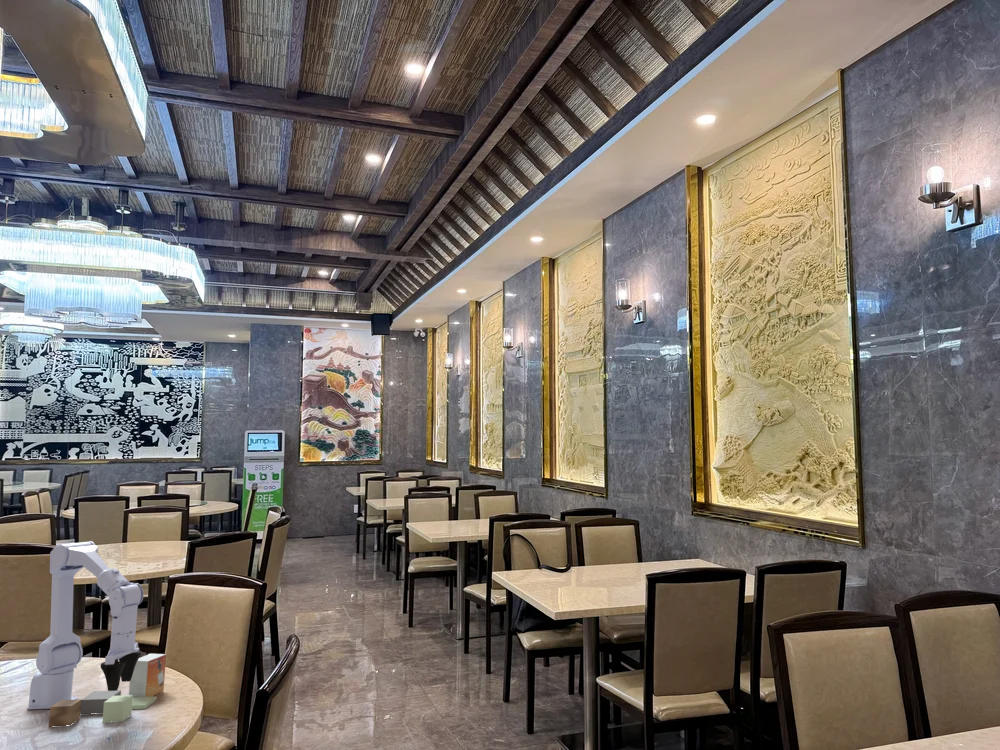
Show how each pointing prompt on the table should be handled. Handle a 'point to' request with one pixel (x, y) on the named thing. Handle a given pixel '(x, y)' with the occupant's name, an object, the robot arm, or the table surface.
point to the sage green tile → (142, 702)
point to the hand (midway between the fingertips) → (119, 685)
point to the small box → (148, 676)
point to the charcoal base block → (96, 701)
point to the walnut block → (64, 712)
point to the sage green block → (117, 708)
